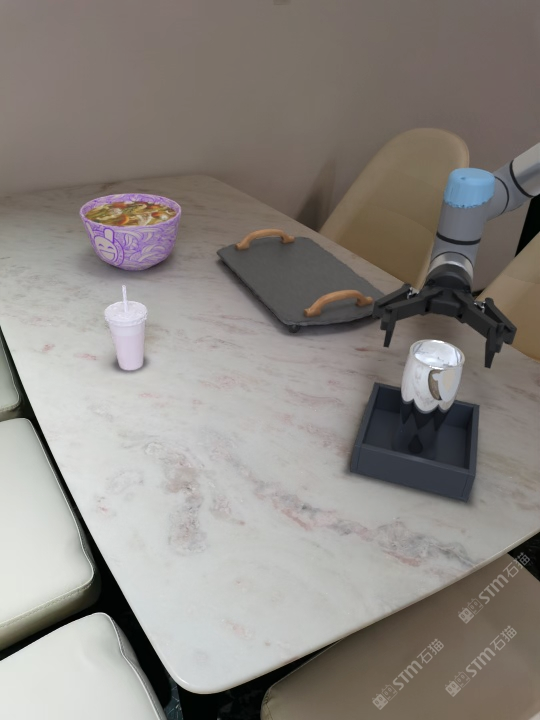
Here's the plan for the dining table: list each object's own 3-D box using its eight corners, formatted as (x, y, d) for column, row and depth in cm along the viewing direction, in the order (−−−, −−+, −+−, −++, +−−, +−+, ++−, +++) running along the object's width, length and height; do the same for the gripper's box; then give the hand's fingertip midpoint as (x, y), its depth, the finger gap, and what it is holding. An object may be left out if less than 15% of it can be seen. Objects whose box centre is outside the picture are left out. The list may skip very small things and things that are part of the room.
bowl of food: (88, 287, 115) (81, 230, 109) (84, 247, 131) (77, 195, 125) (191, 279, 120) (189, 224, 114) (175, 241, 136) (173, 191, 130)
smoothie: (113, 378, 91) (103, 297, 83) (107, 356, 96) (97, 277, 88) (155, 371, 93) (149, 291, 85) (147, 350, 98) (141, 272, 90)
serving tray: (209, 257, 130) (209, 230, 126) (302, 243, 139) (304, 217, 135) (291, 345, 101) (293, 313, 98) (401, 321, 110) (407, 291, 107)
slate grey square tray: (471, 430, 85) (479, 404, 82) (466, 502, 73) (475, 475, 70) (370, 406, 88) (374, 381, 85) (349, 472, 76) (354, 445, 74)
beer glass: (396, 424, 84) (416, 332, 76) (445, 440, 82) (471, 347, 73) (381, 453, 79) (401, 359, 70) (434, 471, 76) (460, 376, 68)
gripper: (522, 318, 97) (526, 391, 80) (369, 291, 102) (343, 353, 85) (535, 276, 92) (543, 344, 75) (376, 250, 98) (350, 307, 81)
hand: (437, 349), depth 80 cm, fingers open, 13 cm apart
